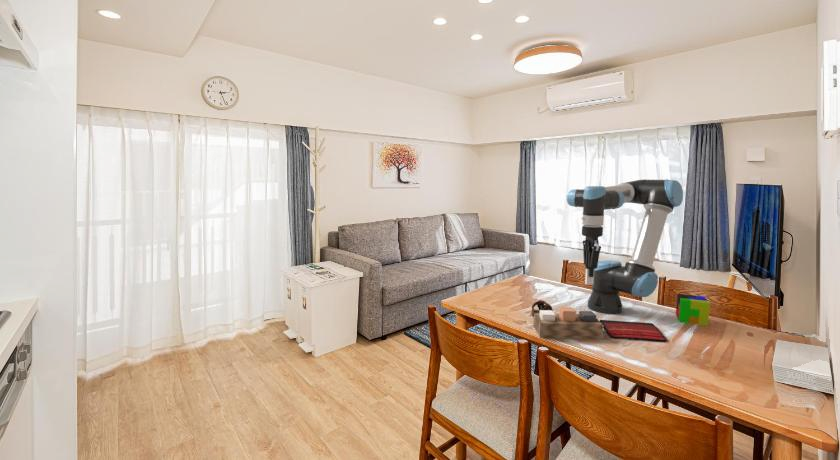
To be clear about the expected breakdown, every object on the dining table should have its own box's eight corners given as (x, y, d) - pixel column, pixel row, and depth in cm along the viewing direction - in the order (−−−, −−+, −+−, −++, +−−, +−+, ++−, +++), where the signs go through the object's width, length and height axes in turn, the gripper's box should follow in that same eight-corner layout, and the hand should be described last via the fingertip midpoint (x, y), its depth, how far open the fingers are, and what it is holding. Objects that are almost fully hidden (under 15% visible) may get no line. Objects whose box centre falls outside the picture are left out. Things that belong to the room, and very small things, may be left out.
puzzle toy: (702, 318, 171) (704, 296, 170) (707, 326, 162) (710, 303, 161) (675, 314, 175) (677, 293, 174) (679, 322, 166) (681, 300, 165)
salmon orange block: (571, 321, 158) (571, 307, 157) (575, 325, 153) (576, 311, 152) (558, 320, 158) (559, 306, 157) (562, 325, 153) (563, 311, 152)
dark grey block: (590, 325, 157) (591, 311, 156) (595, 329, 152) (596, 315, 152) (578, 324, 158) (579, 310, 157) (582, 329, 153) (583, 315, 152)
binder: (599, 319, 165) (652, 322, 162) (599, 324, 166) (652, 327, 162) (610, 335, 150) (669, 339, 146) (610, 341, 150) (668, 345, 147)
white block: (551, 324, 158) (551, 310, 158) (554, 329, 154) (555, 314, 153) (539, 323, 159) (539, 310, 158) (541, 328, 154) (542, 314, 153)
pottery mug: (558, 320, 170) (551, 307, 167) (538, 328, 172) (531, 315, 169) (550, 305, 181) (544, 292, 178) (531, 313, 183) (525, 300, 180)
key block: (591, 327, 161) (592, 314, 160) (602, 339, 150) (602, 324, 149) (533, 326, 162) (534, 313, 161) (539, 337, 151) (540, 323, 151)
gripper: (577, 223, 156) (574, 279, 159) (588, 228, 143) (585, 288, 147) (595, 223, 156) (592, 279, 159) (609, 228, 143) (605, 289, 146)
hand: (589, 284), depth 153 cm, fingers closed
